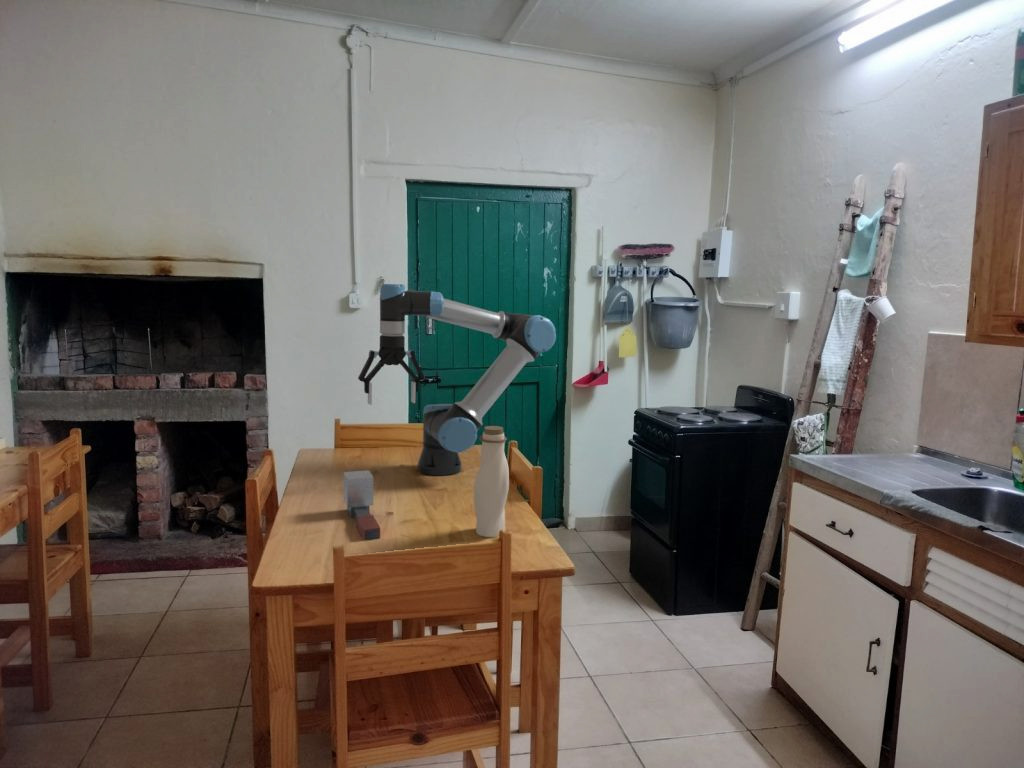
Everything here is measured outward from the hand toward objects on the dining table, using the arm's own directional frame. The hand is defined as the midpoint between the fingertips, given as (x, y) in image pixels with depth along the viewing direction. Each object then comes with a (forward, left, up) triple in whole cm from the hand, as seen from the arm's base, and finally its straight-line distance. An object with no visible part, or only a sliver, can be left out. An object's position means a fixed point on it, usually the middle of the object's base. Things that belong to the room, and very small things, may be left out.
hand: (391, 403), depth 211 cm
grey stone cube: (+14, +22, -24) cm, 35 cm away
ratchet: (+14, +31, -27) cm, 43 cm away
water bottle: (-16, +46, -27) cm, 56 cm away
